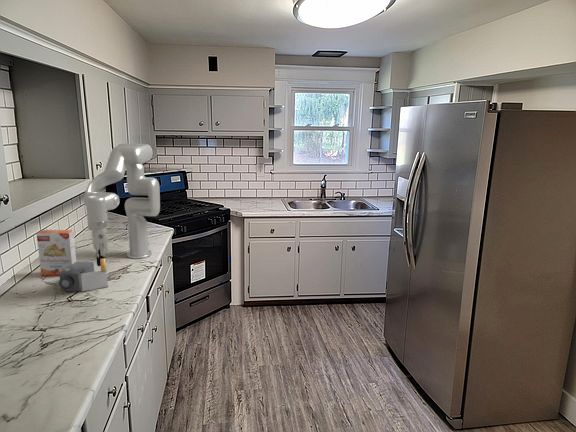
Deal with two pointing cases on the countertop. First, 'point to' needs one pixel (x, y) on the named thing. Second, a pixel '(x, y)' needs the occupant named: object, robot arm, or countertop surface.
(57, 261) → the cracker box
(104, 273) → the grey blade tan handle
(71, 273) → the block
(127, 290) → the countertop surface
